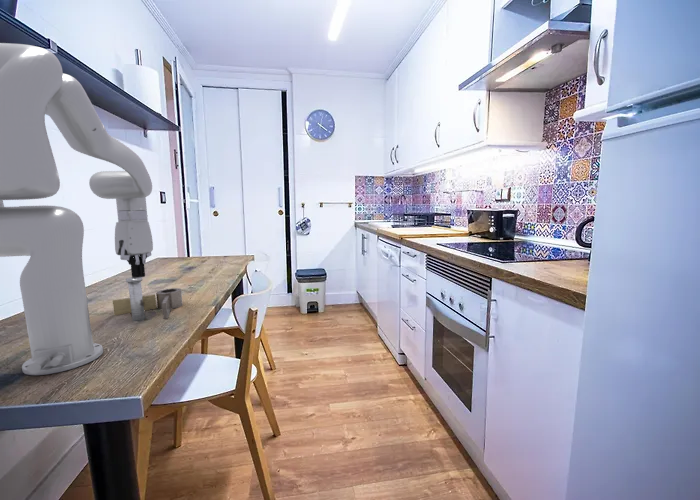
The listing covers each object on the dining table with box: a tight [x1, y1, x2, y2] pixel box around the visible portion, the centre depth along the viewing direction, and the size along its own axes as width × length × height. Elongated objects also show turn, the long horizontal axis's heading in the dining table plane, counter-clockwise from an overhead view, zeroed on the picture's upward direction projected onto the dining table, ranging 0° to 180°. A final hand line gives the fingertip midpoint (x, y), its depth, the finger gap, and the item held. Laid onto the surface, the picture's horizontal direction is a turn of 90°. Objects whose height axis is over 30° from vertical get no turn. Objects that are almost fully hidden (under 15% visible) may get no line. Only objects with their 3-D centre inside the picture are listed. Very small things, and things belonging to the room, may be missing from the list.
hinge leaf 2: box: [155, 287, 184, 320], centre depth 100 cm, size 17×7×5 cm, turn 23°
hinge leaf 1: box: [112, 293, 158, 316], centre depth 100 cm, size 11×1×4 cm, turn 122°
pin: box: [125, 276, 146, 322], centre depth 93 cm, size 4×4×12 cm
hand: (138, 277), depth 101 cm, fingers closed
